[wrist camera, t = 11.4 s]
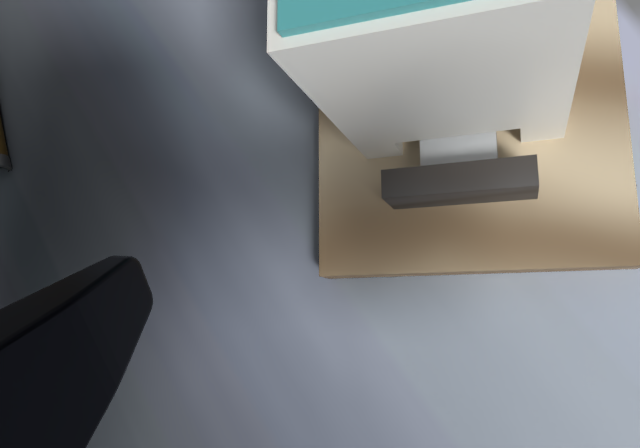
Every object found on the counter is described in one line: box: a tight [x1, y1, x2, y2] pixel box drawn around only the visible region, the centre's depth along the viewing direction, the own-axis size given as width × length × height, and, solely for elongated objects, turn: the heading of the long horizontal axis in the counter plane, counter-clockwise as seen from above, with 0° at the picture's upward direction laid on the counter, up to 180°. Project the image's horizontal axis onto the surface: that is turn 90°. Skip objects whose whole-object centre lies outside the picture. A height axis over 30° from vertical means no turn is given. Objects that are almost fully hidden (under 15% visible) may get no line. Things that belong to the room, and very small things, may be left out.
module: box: [267, 0, 595, 159], centre depth 16 cm, size 5×7×9 cm
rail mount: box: [319, 0, 640, 279], centre depth 20 cm, size 14×11×3 cm
